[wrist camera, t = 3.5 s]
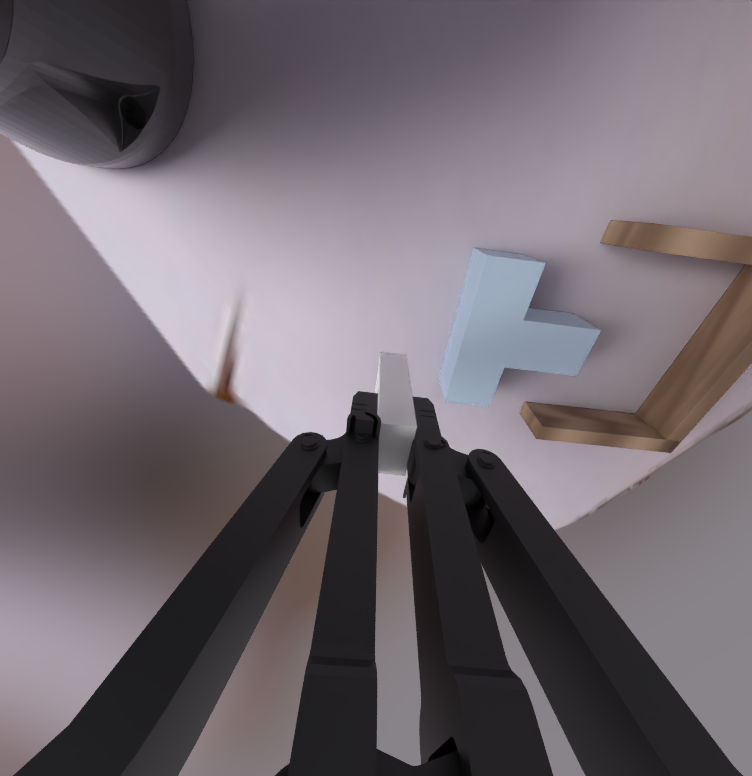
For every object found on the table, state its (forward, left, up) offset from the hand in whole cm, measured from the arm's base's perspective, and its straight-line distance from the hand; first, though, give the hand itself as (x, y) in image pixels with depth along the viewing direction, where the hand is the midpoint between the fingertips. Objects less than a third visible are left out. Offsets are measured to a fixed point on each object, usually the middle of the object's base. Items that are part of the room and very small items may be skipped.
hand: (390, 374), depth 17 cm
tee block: (+11, 0, -10) cm, 15 cm away
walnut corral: (+22, 0, -10) cm, 24 cm away
